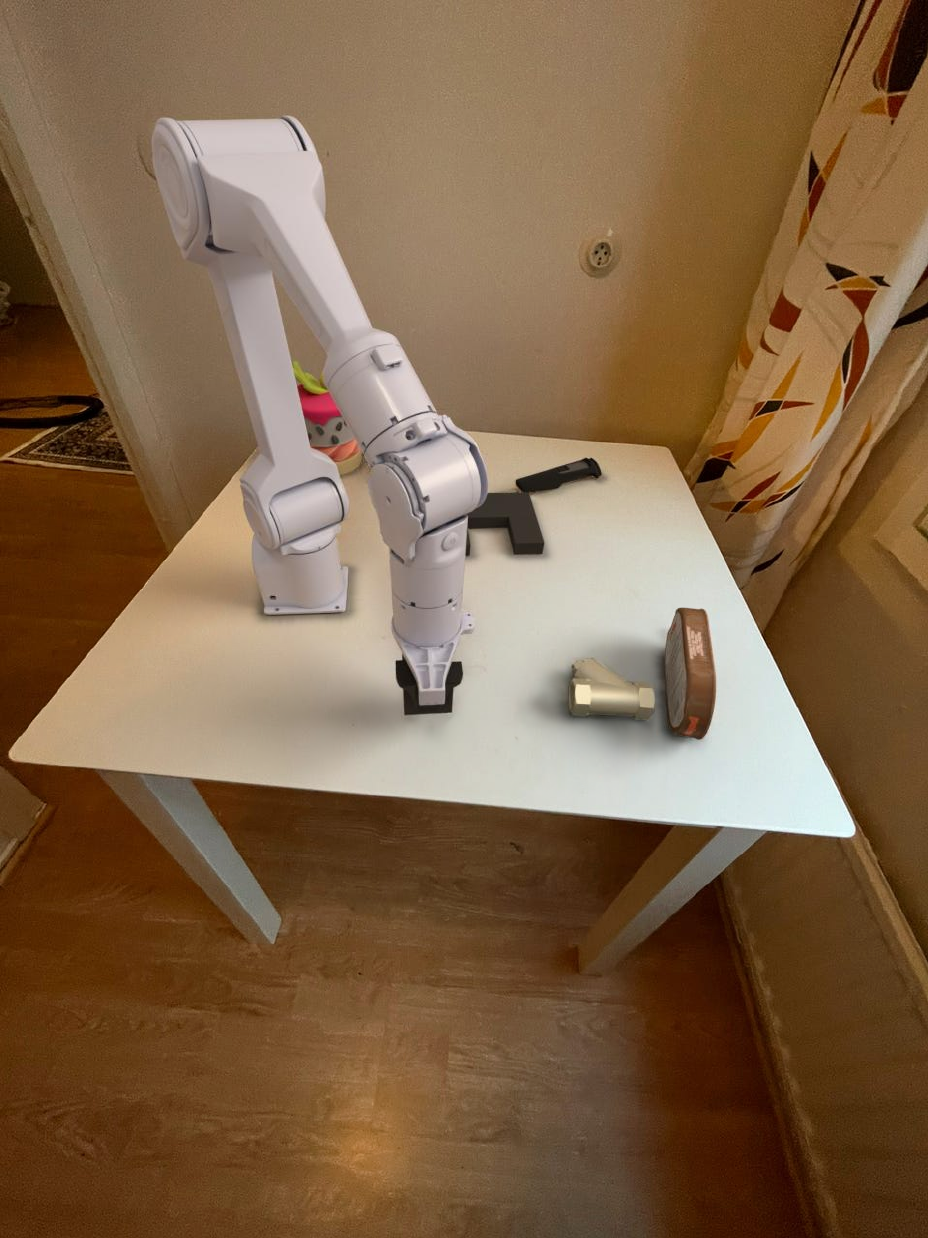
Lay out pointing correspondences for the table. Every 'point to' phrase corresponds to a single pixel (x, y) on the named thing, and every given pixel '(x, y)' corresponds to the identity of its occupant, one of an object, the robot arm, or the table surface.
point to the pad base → (509, 521)
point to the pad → (411, 710)
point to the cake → (326, 422)
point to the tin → (690, 674)
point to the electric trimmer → (559, 476)
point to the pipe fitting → (607, 693)
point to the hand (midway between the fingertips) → (427, 686)
